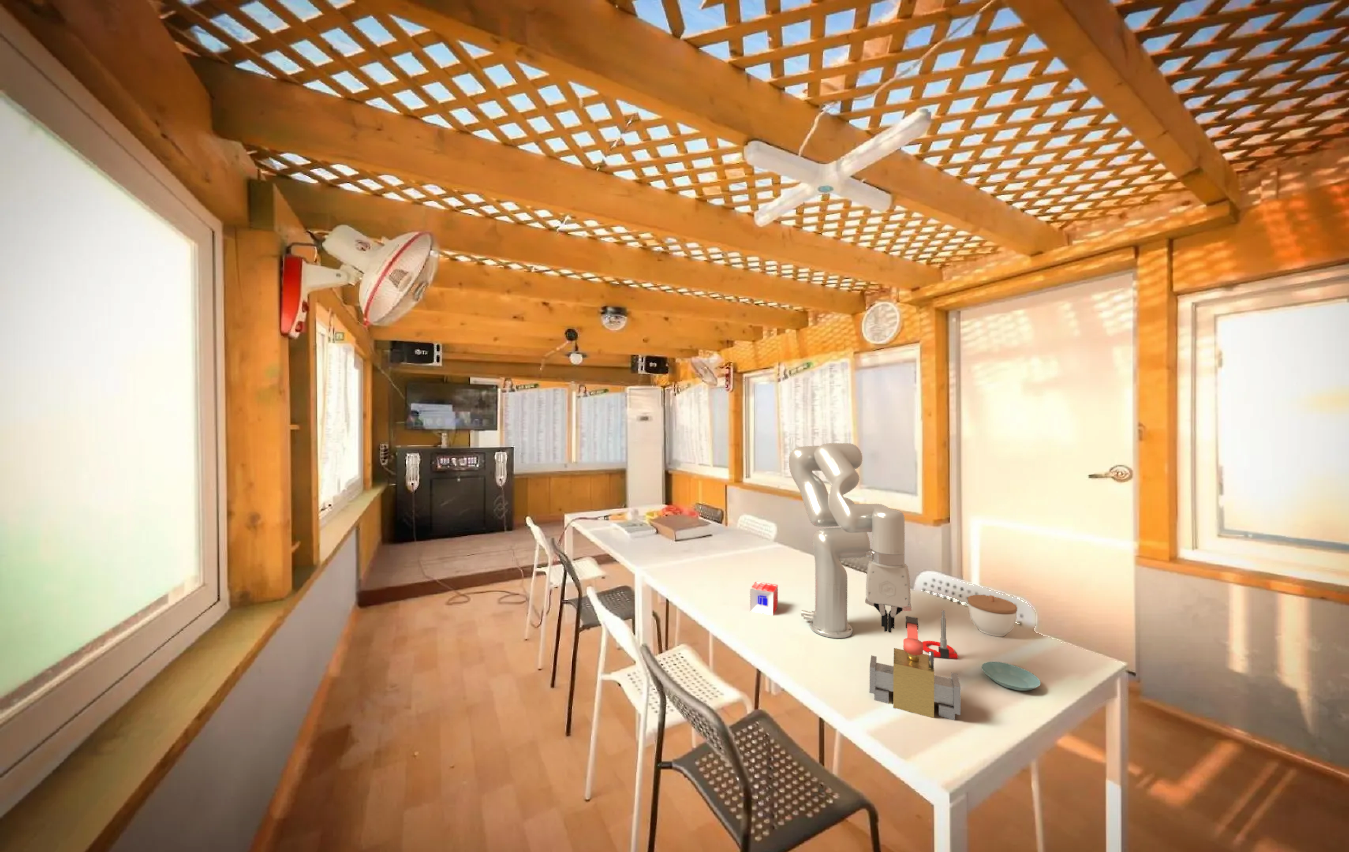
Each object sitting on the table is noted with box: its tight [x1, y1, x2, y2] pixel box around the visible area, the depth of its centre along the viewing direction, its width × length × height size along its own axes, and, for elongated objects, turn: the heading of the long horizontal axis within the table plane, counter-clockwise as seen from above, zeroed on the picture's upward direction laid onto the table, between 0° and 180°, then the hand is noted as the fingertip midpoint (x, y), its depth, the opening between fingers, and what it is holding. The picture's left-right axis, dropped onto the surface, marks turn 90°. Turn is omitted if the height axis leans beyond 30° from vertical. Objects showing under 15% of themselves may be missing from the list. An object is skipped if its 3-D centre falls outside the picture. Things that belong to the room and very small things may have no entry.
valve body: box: [869, 647, 962, 721], centre depth 104 cm, size 18×8×14 cm, turn 63°
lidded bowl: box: [967, 594, 1018, 637], centre depth 141 cm, size 13×13×11 cm
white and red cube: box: [749, 581, 779, 616], centre depth 157 cm, size 8×8×8 cm
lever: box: [902, 615, 924, 655], centre depth 110 cm, size 18×4×2 cm, turn 153°
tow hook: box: [921, 609, 959, 660], centre depth 129 cm, size 8×13×9 cm
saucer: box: [981, 661, 1041, 692], centre depth 113 cm, size 12×12×2 cm
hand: (887, 629), depth 115 cm, fingers closed
